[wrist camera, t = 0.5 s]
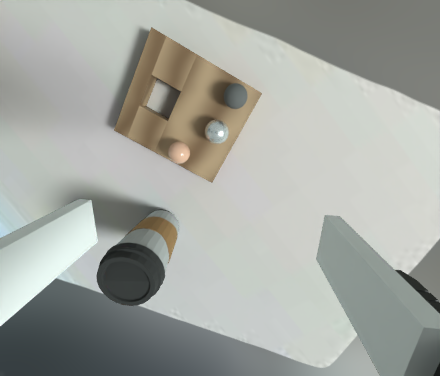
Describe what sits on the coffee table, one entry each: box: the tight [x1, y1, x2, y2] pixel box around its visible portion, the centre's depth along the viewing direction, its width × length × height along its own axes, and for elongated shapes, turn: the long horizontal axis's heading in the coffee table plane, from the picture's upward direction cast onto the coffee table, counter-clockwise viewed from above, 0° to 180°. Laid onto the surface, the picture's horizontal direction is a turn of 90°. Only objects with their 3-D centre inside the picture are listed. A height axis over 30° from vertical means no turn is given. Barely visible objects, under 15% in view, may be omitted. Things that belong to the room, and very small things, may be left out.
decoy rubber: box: [224, 83, 248, 109], centre depth 29 cm, size 3×3×3 cm
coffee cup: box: [97, 210, 179, 306], centre depth 34 cm, size 8×8×15 cm
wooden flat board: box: [114, 27, 262, 182], centre depth 33 cm, size 17×15×2 cm
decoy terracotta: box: [168, 142, 190, 164], centre depth 32 cm, size 3×3×3 cm
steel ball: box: [205, 119, 229, 144], centre depth 31 cm, size 3×3×3 cm
